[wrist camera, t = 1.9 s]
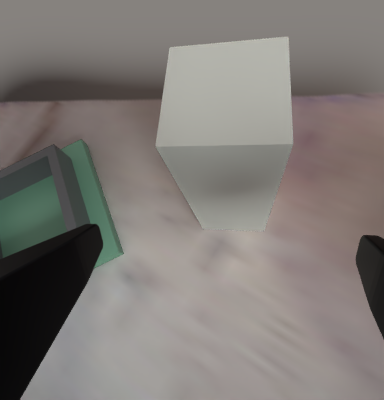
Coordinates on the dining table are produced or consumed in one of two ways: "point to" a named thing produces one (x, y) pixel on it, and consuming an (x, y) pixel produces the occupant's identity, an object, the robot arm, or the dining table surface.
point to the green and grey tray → (53, 200)
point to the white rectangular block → (228, 128)
